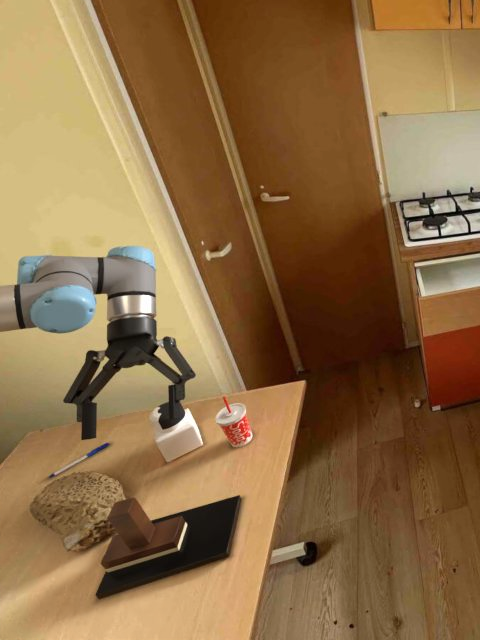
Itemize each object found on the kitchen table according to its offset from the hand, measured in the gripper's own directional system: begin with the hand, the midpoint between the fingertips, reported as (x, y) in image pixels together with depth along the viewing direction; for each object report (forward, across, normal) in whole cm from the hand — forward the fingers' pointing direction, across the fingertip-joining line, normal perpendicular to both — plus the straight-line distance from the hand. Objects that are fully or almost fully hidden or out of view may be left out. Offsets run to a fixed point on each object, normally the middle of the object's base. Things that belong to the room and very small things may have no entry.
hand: (133, 429), depth 80 cm
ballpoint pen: (+2, +23, -27) cm, 36 cm away
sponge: (+14, +15, -16) cm, 26 cm away
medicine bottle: (+5, +2, -25) cm, 26 cm away
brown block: (+22, 0, -6) cm, 22 cm away
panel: (+23, -4, -6) cm, 24 cm away
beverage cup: (+7, -11, -23) cm, 26 cm away
